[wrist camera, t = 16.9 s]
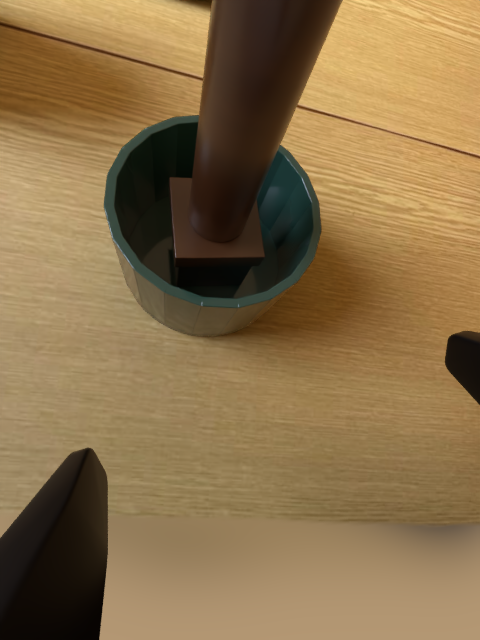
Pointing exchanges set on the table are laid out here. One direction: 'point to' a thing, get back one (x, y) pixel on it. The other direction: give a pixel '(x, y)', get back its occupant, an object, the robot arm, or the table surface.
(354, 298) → the table surface
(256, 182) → the brown stamp
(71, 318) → the table surface
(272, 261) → the green and tan cup
